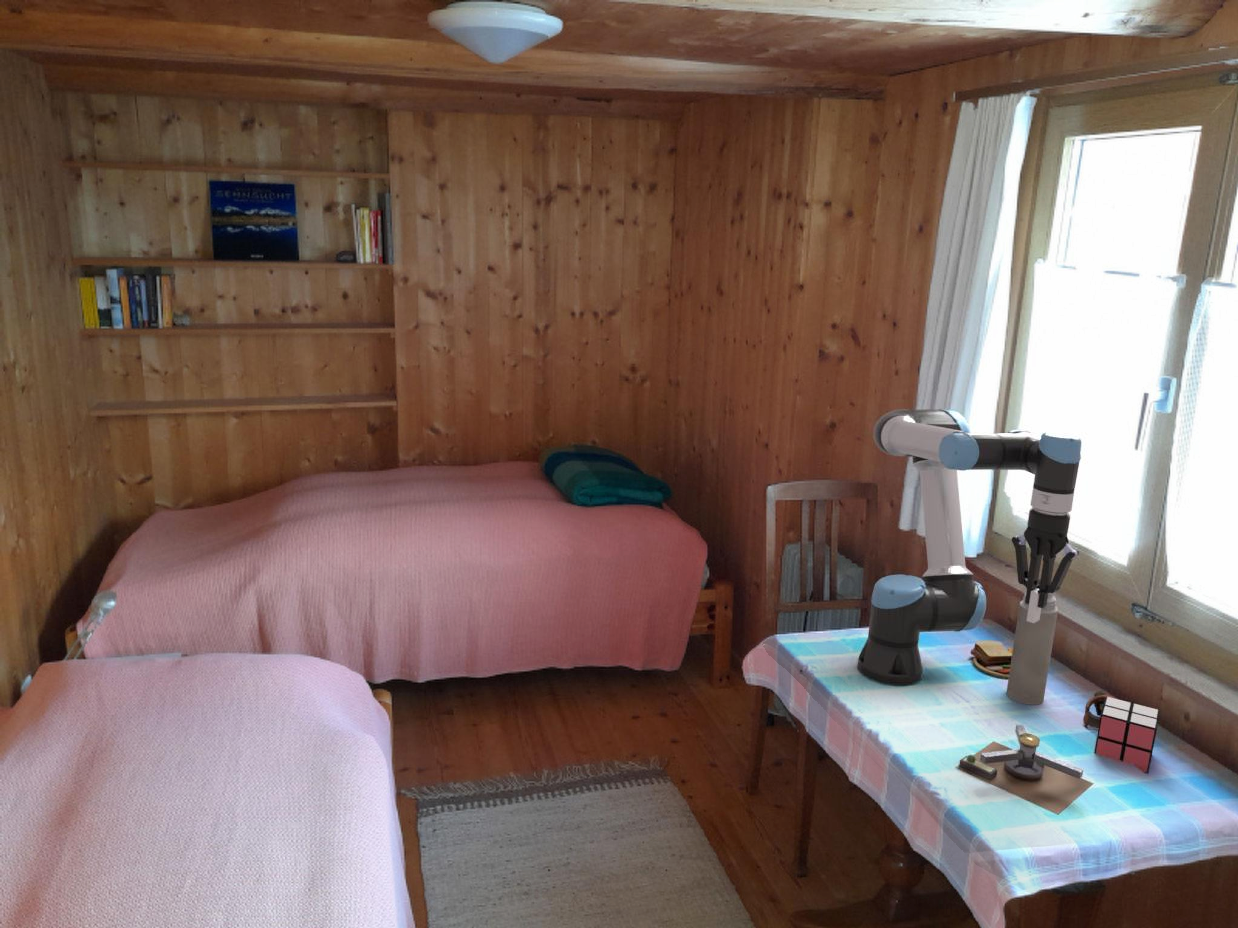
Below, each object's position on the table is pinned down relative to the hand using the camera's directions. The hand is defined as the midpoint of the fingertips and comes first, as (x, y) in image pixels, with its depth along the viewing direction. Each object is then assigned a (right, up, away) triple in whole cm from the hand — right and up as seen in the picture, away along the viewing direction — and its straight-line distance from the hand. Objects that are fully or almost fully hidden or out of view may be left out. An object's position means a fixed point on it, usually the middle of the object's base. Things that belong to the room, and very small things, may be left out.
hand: (1033, 620), depth 195 cm
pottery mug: (+21, -25, +12) cm, 35 cm away
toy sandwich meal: (+8, -18, +40) cm, 45 cm away
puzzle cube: (+18, -28, 0) cm, 34 cm away
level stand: (-7, -29, -11) cm, 32 cm away
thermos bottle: (+9, -22, +24) cm, 34 cm away
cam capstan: (-6, -28, -9) cm, 30 cm away
